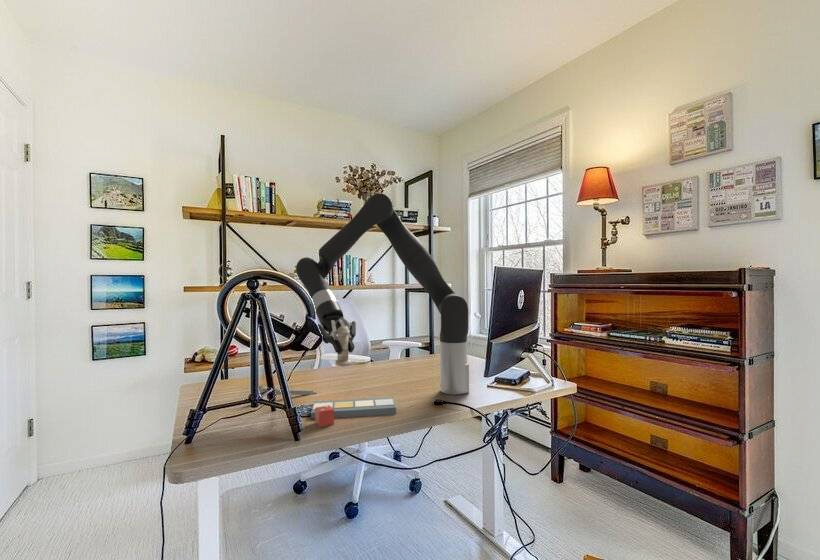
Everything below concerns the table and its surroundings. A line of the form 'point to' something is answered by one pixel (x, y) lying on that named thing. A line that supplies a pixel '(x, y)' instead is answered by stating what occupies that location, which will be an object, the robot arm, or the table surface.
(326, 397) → the table surface
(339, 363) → the pawn
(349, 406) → the board
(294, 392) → the caliper
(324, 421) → the die
